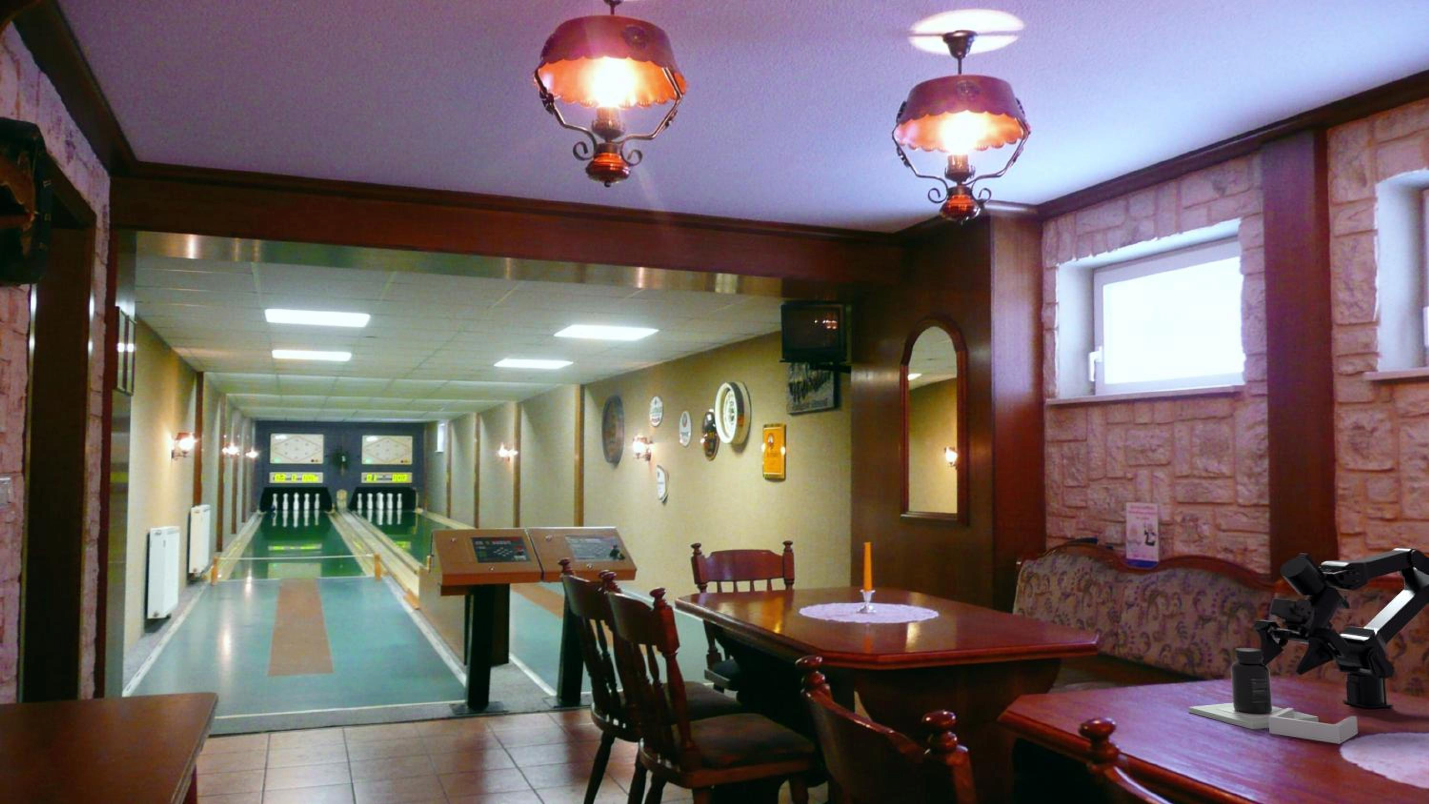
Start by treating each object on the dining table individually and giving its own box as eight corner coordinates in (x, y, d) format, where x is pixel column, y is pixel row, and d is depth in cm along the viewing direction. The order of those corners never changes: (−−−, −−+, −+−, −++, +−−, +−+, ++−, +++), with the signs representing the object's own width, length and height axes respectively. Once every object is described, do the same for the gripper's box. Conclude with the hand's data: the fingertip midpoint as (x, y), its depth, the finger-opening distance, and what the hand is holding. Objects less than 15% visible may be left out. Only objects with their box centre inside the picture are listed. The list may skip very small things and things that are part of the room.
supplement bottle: (1273, 709, 202) (1269, 648, 203) (1271, 716, 196) (1267, 653, 197) (1234, 706, 206) (1231, 645, 207) (1231, 712, 200) (1228, 650, 201)
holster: (1289, 723, 195) (1288, 707, 195) (1357, 733, 187) (1356, 716, 187) (1269, 733, 188) (1268, 716, 188) (1339, 743, 179) (1338, 726, 180)
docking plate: (1250, 705, 211) (1250, 700, 211) (1318, 722, 196) (1317, 716, 196) (1188, 712, 206) (1188, 706, 206) (1253, 729, 191) (1252, 723, 191)
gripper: (1256, 580, 216) (1217, 637, 212) (1333, 587, 198) (1293, 649, 194) (1288, 616, 218) (1250, 672, 213) (1367, 626, 200) (1328, 688, 196)
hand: (1278, 669), depth 204 cm, fingers open, 9 cm apart
